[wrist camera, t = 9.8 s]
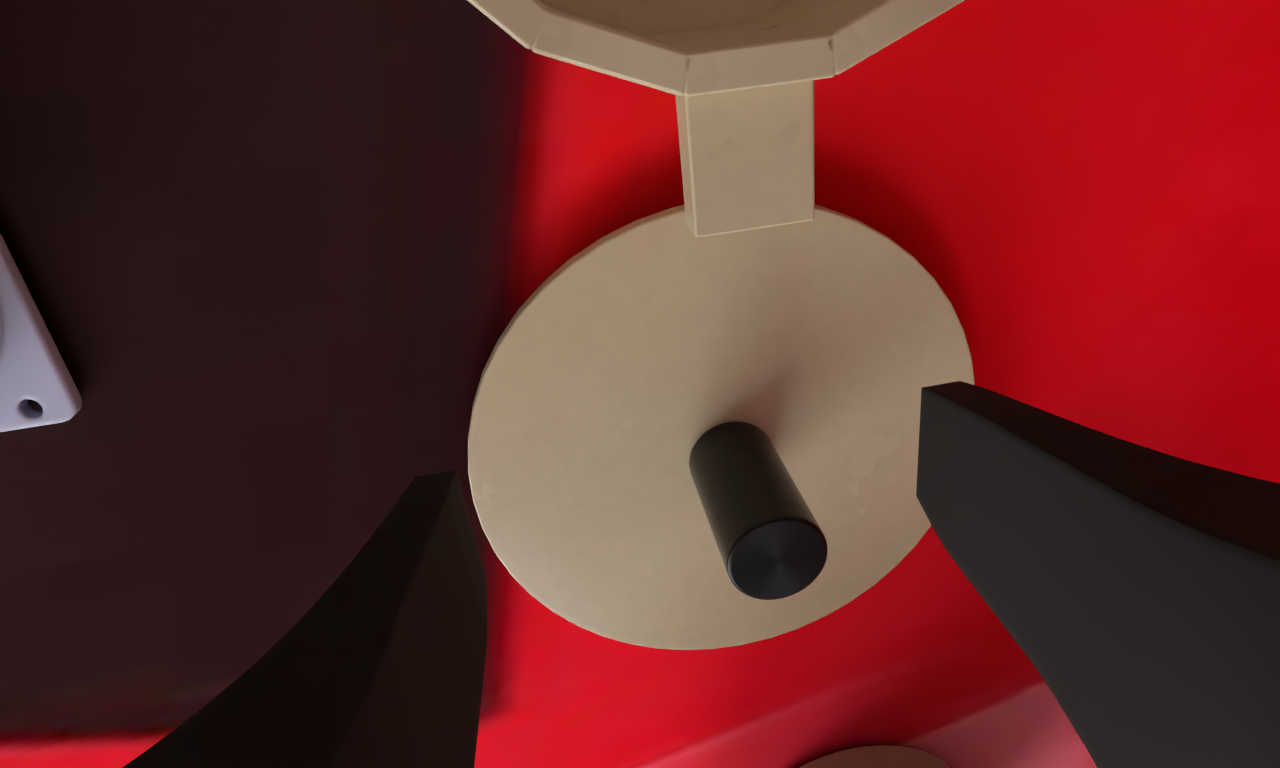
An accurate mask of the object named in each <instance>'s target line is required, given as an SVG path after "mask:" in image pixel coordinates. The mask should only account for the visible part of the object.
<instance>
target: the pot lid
mask: <svg viewBox="0 0 1280 768" xmlns="http://www.w3.org/2000/svg"><path fill="white" fill-rule="evenodd" d="M956 381H962V382H965V383H969V384H972V385H975V381H974V373H973V365H972V357H971V354H970V350H969V347H968V343H967V340H966V336H965V333H964V329H963V327H962V325H961V323H960V321H959V319H958V316H957V314H956V312H955V310H954V308H953V306H952V304H951V302H950V301H949V299H948V298H947V296H946V295H945V293H944V292H943V290H942V289H941V287H940V286H939V284H938V283H937V281H936V280H935V279H934V277H933V276H932V275H931V274H930V273H929V272H928V271H927V270H926V269H925V268H924V267H923V266H922V265H921V264H920V263H919V262H918V261H917V260H916V259H915V258H914V256H912V255H911V254H910V253H908V252H907V251H906V250H904V249H903V248H902V247H900V246H899V245H898V244H897V243H895V242H894V241H893V240H891V239H890V238H889V237H887V236H886V235H884V234H883V233H881V232H879V231H877V230H876V229H874V228H872V227H870V226H868V225H866V224H864V223H863V222H861V221H859V220H857V219H855V218H853V217H851V216H848V215H845V214H842V213H840V212H837V211H834V210H831V209H828V208H826V207H823V206H820V205H815V218H814V220H812V221H806V222H799V223H792V224H786V225H779V226H772V227H766V228H759V229H752V230H745V231H739V232H732V233H725V234H719V235H712V236H705V237H696V236H695V235H694V234H693V232H692V231H691V230H690V228H689V227H688V226H687V224H686V218H685V206H684V205H682V206H677V207H672V208H669V209H667V210H664V211H661V212H658V213H655V214H652V215H649V216H647V217H644V218H641V219H638V220H635V221H633V222H631V223H629V224H627V225H625V226H623V227H621V228H619V229H617V230H615V231H613V232H611V233H609V234H607V235H605V236H604V237H602V238H600V239H598V240H597V241H595V242H594V243H592V244H591V245H589V246H588V247H587V248H585V249H584V250H582V251H581V252H579V253H578V254H576V255H575V256H573V257H572V258H570V259H569V260H568V261H566V262H565V263H564V264H563V265H562V266H561V267H560V268H559V269H557V270H556V271H555V272H554V273H553V274H552V275H551V276H549V277H548V278H547V279H546V280H545V281H544V282H543V283H541V284H540V286H539V287H538V288H537V289H536V290H535V291H534V292H533V294H532V295H531V296H530V297H529V298H528V299H527V300H526V302H525V303H524V304H523V305H522V306H521V307H520V309H519V310H518V311H517V312H516V314H515V315H514V317H513V318H512V320H511V321H510V323H509V324H508V326H507V327H506V329H505V330H504V332H503V333H502V335H501V336H500V338H499V339H498V341H497V343H496V345H495V347H494V349H493V351H492V353H491V355H490V358H489V360H488V362H487V364H486V366H485V368H484V370H483V373H482V376H481V379H480V382H479V386H478V389H477V392H476V396H475V399H474V402H473V408H472V414H471V421H470V428H469V435H468V474H469V480H470V486H471V492H472V498H473V502H474V505H475V508H476V511H477V514H478V517H479V520H480V523H481V526H482V529H483V531H484V533H485V534H486V536H487V538H488V540H489V542H490V544H491V546H492V548H493V550H494V552H495V553H496V555H497V556H498V558H499V559H500V560H501V562H502V563H503V564H504V566H505V567H506V568H507V570H508V571H509V573H510V574H511V575H512V576H513V577H514V578H515V579H516V580H517V581H518V582H519V583H520V584H521V585H522V586H523V588H524V589H525V590H526V591H527V592H528V593H529V594H530V595H531V596H533V597H534V598H535V599H537V600H538V601H539V602H541V603H542V604H543V605H545V606H546V607H547V608H549V609H550V610H551V611H552V612H554V613H556V614H558V615H559V616H561V617H563V618H565V619H566V620H568V621H570V622H572V623H573V624H575V625H577V626H579V627H582V628H584V629H586V630H589V631H591V632H594V633H596V634H598V635H601V636H604V637H607V638H611V639H614V640H618V641H621V642H625V643H628V644H633V645H639V646H645V647H651V648H658V649H675V650H699V649H716V648H723V647H731V646H738V645H744V644H748V643H752V642H756V641H760V640H764V639H769V638H772V637H775V636H778V635H781V634H784V633H787V632H790V631H792V630H795V629H798V628H800V627H803V626H805V625H807V624H809V623H812V622H814V621H816V620H818V619H820V618H823V617H825V616H827V615H828V614H830V613H832V612H834V611H835V610H837V609H839V608H841V607H842V606H844V605H846V604H848V603H849V602H851V601H852V600H854V599H855V598H857V597H858V596H859V595H861V594H862V593H864V592H865V591H867V590H868V589H869V588H871V587H872V586H874V585H875V584H876V583H877V582H878V581H880V580H881V579H882V578H883V577H884V576H885V575H887V574H888V573H889V572H890V571H891V570H892V569H893V568H895V567H896V566H897V565H898V564H899V563H900V562H901V561H902V560H903V559H904V557H905V556H906V555H907V554H908V553H909V552H910V551H911V550H912V549H913V548H914V547H915V546H916V545H917V543H918V542H919V541H920V540H921V538H922V537H923V536H924V534H925V533H926V532H927V530H928V529H929V528H930V526H931V523H930V521H929V519H928V517H927V515H926V514H925V512H924V510H923V508H922V506H921V504H920V502H919V500H918V499H917V497H916V488H917V468H918V449H919V429H920V409H921V389H922V387H928V386H934V385H939V384H945V383H951V382H956Z"/></svg>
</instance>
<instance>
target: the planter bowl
mask: <svg viewBox="0 0 1280 768" xmlns="http://www.w3.org/2000/svg"><path fill="white" fill-rule="evenodd" d="M799 768H951V767H950V766H949V765H948V764H947V763H945V762H944V761H943V760H941V759H940V758H938V757H936V756H934V755H932V754H930V753H927V752H925V751H922V750H919V749H916V748H911V747H905V746H897V745H874V746H863V747H857V748H851V749H847V750H843V751H839V752H835V753H832V754H829V755H826V756H823V757H820V758H818V759H816V760H813V761H811V762H809V763H806V764H805V765H803V766H801V767H799Z"/></svg>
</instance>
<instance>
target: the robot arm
mask: <svg viewBox="0 0 1280 768" xmlns="http://www.w3.org/2000/svg"><path fill="white" fill-rule="evenodd" d="M27 399H30V400H34V401H36V402H38V403H39V404H40V405H41V406H42V408H43V411H39V410H36V409H34V408H32V407H31V406H30V405H29V404H28V401H27ZM81 406H82V399H81V396H80V394H79V391H78V389H77V387H76V385H75V383H74V381H73V379H72V377H71V375H70V373H69V371H68V369H67V367H66V365H65V363H64V361H63V359H62V357H61V355H60V353H59V351H58V349H57V347H56V345H55V343H54V341H53V339H52V337H51V335H50V333H49V331H48V329H47V327H46V325H45V323H44V320H43V318H42V316H41V314H40V312H39V310H38V308H37V306H36V304H35V302H34V300H33V298H32V296H31V294H30V292H29V290H28V288H27V286H26V284H25V282H24V280H23V278H22V276H21V274H20V272H19V270H18V268H17V266H16V264H15V262H14V260H13V258H12V256H11V254H10V252H9V249H8V247H7V245H6V243H5V241H4V239H3V237H2V235H1V233H0V432H4V431H10V430H17V429H23V428H29V427H36V426H42V425H48V424H55V423H61V422H65V421H67V420H70V419H71V418H72V417H73V416H74V415H75V414H76V413H77V412H78V411H79V410H80V409H81ZM916 497H917V499H918V500H919V502H920V504H921V506H922V508H923V510H924V512H925V514H926V515H927V517H928V519H929V521H930V523H931V525H932V527H933V528H934V530H935V532H936V534H937V535H938V537H939V539H940V540H941V542H942V544H943V546H944V547H945V549H946V550H947V552H948V553H949V554H950V556H951V557H952V558H953V560H954V561H955V562H956V564H957V565H958V566H959V568H960V569H961V570H962V572H963V573H964V574H965V576H966V577H967V578H968V580H969V581H970V582H971V584H972V585H973V586H974V588H975V589H976V590H977V592H978V593H979V594H980V596H981V597H982V598H983V599H984V601H985V602H986V603H987V605H988V606H989V607H990V609H991V610H992V611H993V612H994V614H995V615H996V616H997V618H998V619H999V620H1000V622H1001V623H1002V624H1003V625H1004V627H1005V628H1006V629H1007V631H1008V632H1009V633H1010V635H1011V636H1012V637H1013V638H1014V640H1015V641H1016V642H1017V644H1018V645H1019V646H1020V648H1021V649H1022V650H1023V651H1024V653H1025V654H1026V655H1027V657H1028V658H1029V659H1030V661H1031V662H1032V663H1033V665H1034V666H1035V668H1036V669H1037V671H1038V672H1039V673H1040V675H1041V676H1042V678H1043V679H1044V681H1045V682H1046V683H1047V685H1048V686H1049V688H1050V689H1051V691H1052V693H1053V694H1054V696H1055V697H1056V699H1057V701H1058V702H1059V704H1060V706H1061V707H1062V709H1063V711H1064V712H1065V714H1066V715H1067V717H1068V719H1069V720H1070V722H1071V724H1072V725H1073V727H1074V728H1075V730H1076V732H1077V733H1078V735H1079V737H1080V738H1081V740H1082V742H1083V743H1084V745H1085V746H1086V748H1087V750H1088V752H1089V753H1090V755H1091V757H1092V759H1093V760H1094V762H1095V764H1096V766H1097V767H1098V768H1280V484H1279V483H1274V482H1270V481H1265V480H1261V479H1256V478H1252V477H1248V476H1244V475H1240V474H1236V473H1233V472H1229V471H1225V470H1221V469H1217V468H1213V467H1210V466H1206V465H1202V464H1198V463H1194V462H1191V461H1187V460H1184V459H1181V458H1177V457H1174V456H1170V455H1167V454H1164V453H1161V452H1158V451H1155V450H1152V449H1149V448H1146V447H1143V446H1140V445H1137V444H1133V443H1130V442H1127V441H1124V440H1121V439H1118V438H1116V437H1113V436H1110V435H1107V434H1104V433H1102V432H1099V431H1096V430H1093V429H1090V428H1088V427H1085V426H1082V425H1080V424H1077V423H1074V422H1072V421H1069V420H1066V419H1064V418H1061V417H1058V416H1056V415H1053V414H1051V413H1048V412H1046V411H1043V410H1040V409H1038V408H1035V407H1033V406H1030V405H1027V404H1025V403H1022V402H1020V401H1017V400H1014V399H1012V398H1009V397H1007V396H1004V395H1001V394H998V393H996V392H993V391H990V390H987V389H985V388H982V387H979V386H976V385H972V384H969V383H965V382H962V381H956V382H951V383H945V384H939V385H934V386H928V387H922V389H921V409H920V429H919V449H918V468H917V488H916ZM486 645H487V599H486V576H485V572H484V568H483V565H482V561H481V557H480V554H479V550H478V546H477V543H476V539H475V535H474V532H473V528H472V524H471V521H470V517H469V513H468V509H467V506H466V502H465V498H464V495H463V491H462V487H461V484H460V480H459V476H458V473H457V470H454V471H449V472H443V473H438V474H432V475H426V476H421V477H416V478H415V479H414V480H413V482H412V483H411V484H410V486H409V487H408V488H407V489H406V491H405V492H404V493H403V495H402V496H401V497H400V499H399V500H398V501H397V503H396V504H395V505H394V507H393V508H392V509H391V511H390V512H389V514H388V515H387V516H386V518H385V519H384V520H383V522H382V523H381V524H380V526H379V527H378V528H377V530H376V531H375V532H374V534H373V535H372V536H371V538H370V539H369V540H368V541H367V543H366V544H365V545H364V546H363V548H362V549H361V550H360V552H359V553H358V554H357V555H356V557H355V558H354V559H353V561H352V562H351V563H350V564H349V565H348V567H347V568H346V569H345V570H344V571H343V572H342V574H341V575H340V576H339V577H338V578H337V579H336V580H335V582H334V583H333V584H332V585H331V586H330V587H329V588H328V590H327V591H326V592H325V593H324V594H323V595H322V597H321V598H320V599H319V600H318V601H317V602H316V603H315V605H314V606H313V607H312V608H311V609H310V610H309V611H308V612H307V613H306V614H305V615H304V616H303V618H302V619H301V620H300V621H299V622H298V623H297V624H296V625H295V626H294V627H293V628H292V629H291V630H290V631H289V632H288V633H287V634H286V635H285V636H284V637H283V638H282V639H281V640H279V641H278V642H277V643H276V644H275V645H274V646H273V647H272V648H271V649H270V650H269V651H268V652H267V653H266V654H265V655H264V656H263V657H262V658H261V659H259V660H258V661H257V662H256V663H255V664H254V665H253V666H252V667H251V668H250V669H248V670H247V671H246V672H245V673H244V674H243V675H241V676H240V677H239V678H238V679H237V680H235V681H234V682H233V683H232V684H231V685H229V686H228V687H227V688H226V689H225V690H223V691H222V692H221V693H220V694H218V695H217V696H216V697H215V698H214V699H212V700H211V701H210V702H209V703H208V704H206V705H205V706H204V707H203V708H202V709H200V710H199V711H198V712H197V713H196V714H194V715H193V716H192V717H191V718H190V719H188V720H187V721H186V722H184V723H183V724H182V725H181V726H179V727H178V728H177V729H175V730H174V731H173V732H171V733H170V734H168V735H167V736H166V737H164V738H163V739H162V740H160V741H159V742H158V743H156V744H155V745H154V746H152V747H151V748H150V749H148V750H147V751H146V752H144V753H143V754H141V755H140V756H138V757H137V758H136V759H134V760H133V761H131V762H130V763H128V764H127V765H126V766H124V767H123V768H474V762H475V753H476V743H477V734H478V724H479V715H480V705H481V696H482V686H483V676H484V666H485V656H486Z"/></svg>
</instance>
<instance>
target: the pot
mask: <svg viewBox="0 0 1280 768" xmlns="http://www.w3.org/2000/svg"><path fill="white" fill-rule="evenodd" d="M467 1H468V2H470V3H471V4H472V5H473V6H475V7H476V8H477V9H478V10H479V11H481V12H482V13H483V14H484V15H486V16H487V17H488V18H489V19H491V20H492V21H493V22H494V23H495V24H497V25H498V26H499V27H500V28H502V29H503V30H504V31H505V32H507V33H508V34H509V35H510V36H511V37H513V38H514V39H515V40H516V41H518V42H519V43H520V44H521V45H523V46H524V47H525V48H528V49H530V48H531V50H532V51H533V52H534V53H537V54H540V55H544V56H547V57H550V58H554V59H557V60H560V61H564V62H567V63H570V64H574V65H577V66H580V67H584V68H587V69H591V70H594V71H597V72H601V73H604V74H607V75H611V76H614V77H617V78H621V79H624V80H627V81H631V82H634V83H637V84H641V85H644V86H648V87H651V88H654V89H658V90H661V91H664V92H668V93H671V94H674V95H675V96H676V108H677V120H678V132H679V145H680V157H681V169H682V181H683V193H684V206H685V218H686V224H687V226H688V227H689V228H690V230H691V231H692V232H693V234H694V235H695V236H696V237H705V236H712V235H719V234H725V233H732V232H739V231H745V230H752V229H759V228H766V227H772V226H779V225H786V224H792V223H799V222H806V221H812V220H814V218H815V182H814V80H817V79H825V78H832V77H834V76H835V75H838V74H840V73H842V72H844V71H846V70H847V69H849V68H851V67H852V66H854V65H856V64H857V63H859V62H861V61H863V60H864V59H866V58H868V57H869V56H871V55H873V54H874V53H876V52H878V51H880V50H881V49H883V48H885V47H886V46H888V45H890V44H891V43H893V42H895V41H897V40H898V39H900V38H902V37H903V36H905V35H907V34H908V33H910V32H912V31H914V30H915V29H917V28H919V27H920V26H922V25H924V24H925V23H927V22H929V21H931V20H932V19H934V18H936V17H937V16H939V15H941V14H942V13H944V12H946V11H948V10H949V9H951V8H953V7H954V6H956V5H958V4H959V3H961V2H963V1H965V0H467Z"/></svg>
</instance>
